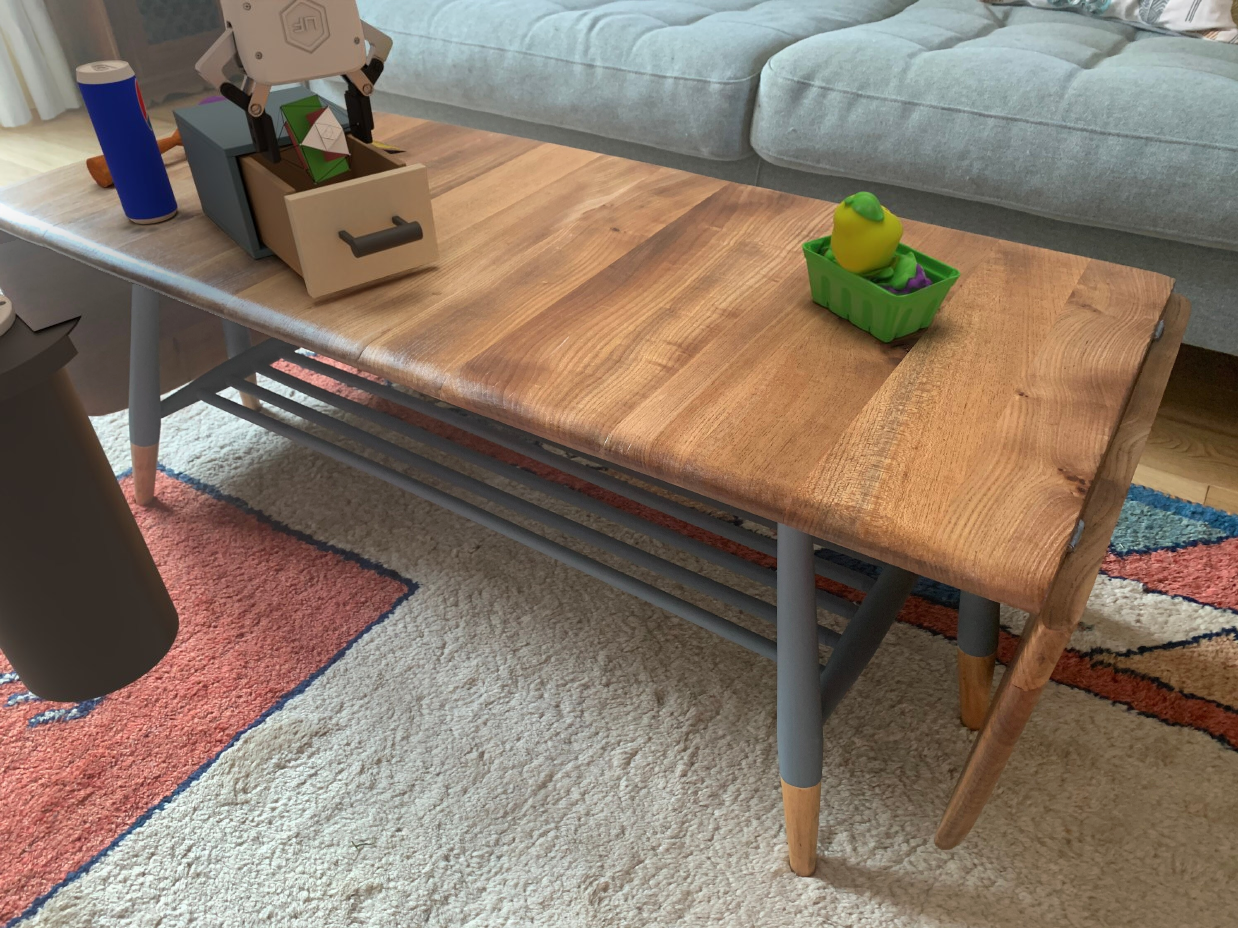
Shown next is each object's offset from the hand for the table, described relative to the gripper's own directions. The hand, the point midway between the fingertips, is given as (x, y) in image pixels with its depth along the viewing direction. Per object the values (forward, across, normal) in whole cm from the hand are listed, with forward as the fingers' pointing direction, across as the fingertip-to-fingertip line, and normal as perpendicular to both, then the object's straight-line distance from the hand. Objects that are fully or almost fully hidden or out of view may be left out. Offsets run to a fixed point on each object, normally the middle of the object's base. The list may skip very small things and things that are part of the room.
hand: (318, 148), depth 79 cm
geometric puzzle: (+3, 0, 0) cm, 3 cm away
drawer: (+10, 0, -2) cm, 10 cm away
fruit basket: (+10, +30, -39) cm, 50 cm away
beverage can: (+11, -11, +23) cm, 28 cm away
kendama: (+11, -4, +39) cm, 41 cm away
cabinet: (+11, 0, +13) cm, 17 cm away
